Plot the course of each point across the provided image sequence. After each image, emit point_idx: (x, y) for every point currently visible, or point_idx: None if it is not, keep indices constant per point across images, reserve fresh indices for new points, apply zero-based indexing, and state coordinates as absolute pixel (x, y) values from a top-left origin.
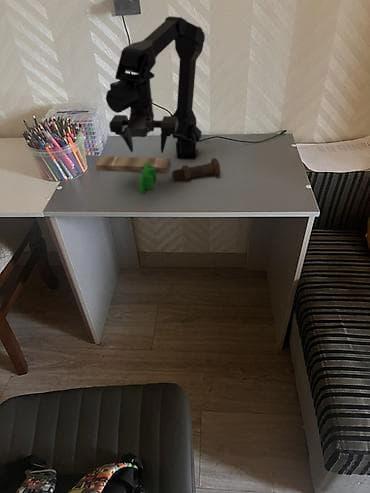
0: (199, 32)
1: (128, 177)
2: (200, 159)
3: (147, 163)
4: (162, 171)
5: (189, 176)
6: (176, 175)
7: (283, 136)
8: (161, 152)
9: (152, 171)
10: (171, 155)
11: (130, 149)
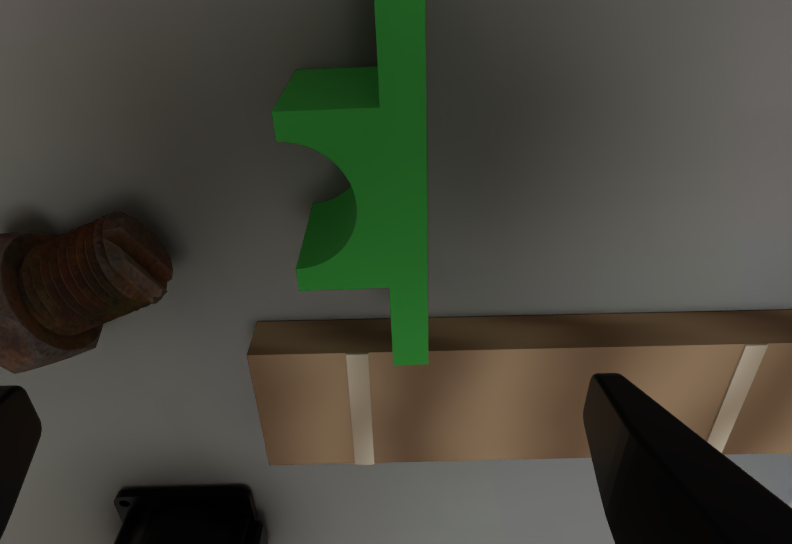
0: None
1: (581, 234)
2: (82, 489)
3: (408, 359)
4: (293, 330)
5: None
6: (85, 240)
7: None
8: (5, 389)
9: (327, 250)
10: (303, 509)
11: (641, 403)
